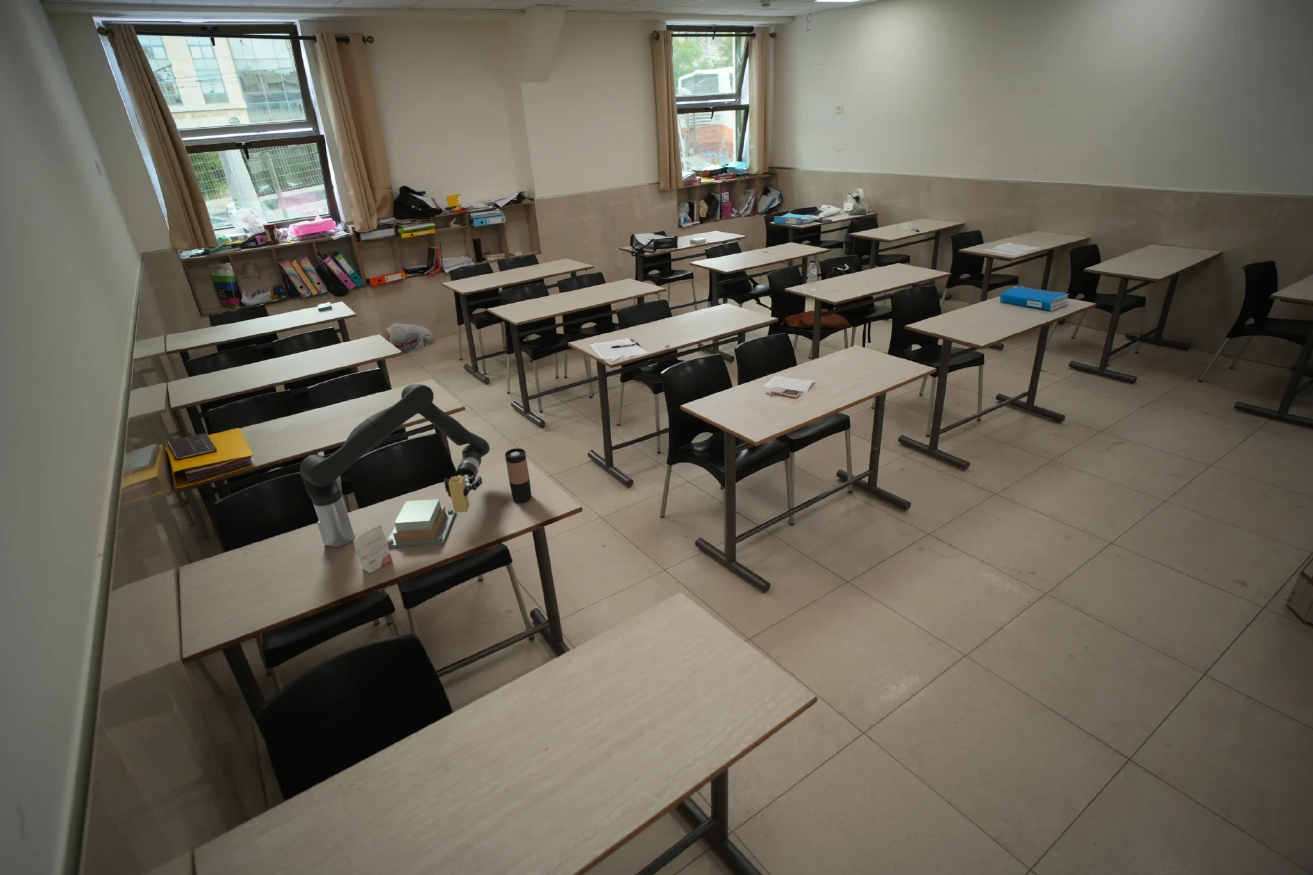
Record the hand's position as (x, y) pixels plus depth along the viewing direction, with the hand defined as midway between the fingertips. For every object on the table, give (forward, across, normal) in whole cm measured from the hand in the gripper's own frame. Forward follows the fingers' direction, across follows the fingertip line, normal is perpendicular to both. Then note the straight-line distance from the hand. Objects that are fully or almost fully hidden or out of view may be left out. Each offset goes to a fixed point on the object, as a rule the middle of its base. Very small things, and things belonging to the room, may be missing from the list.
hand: (457, 494), depth 229 cm
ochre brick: (-2, 0, +7) cm, 7 cm away
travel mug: (-19, +18, +15) cm, 30 cm away
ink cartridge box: (+17, -26, +16) cm, 34 cm away
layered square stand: (-2, -16, +15) cm, 22 cm away
